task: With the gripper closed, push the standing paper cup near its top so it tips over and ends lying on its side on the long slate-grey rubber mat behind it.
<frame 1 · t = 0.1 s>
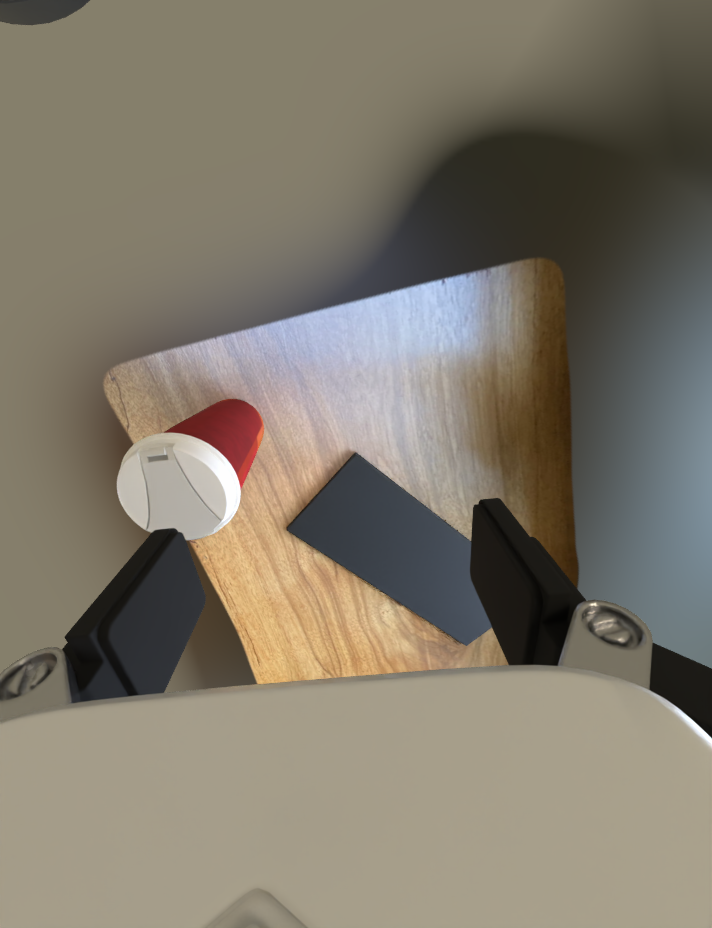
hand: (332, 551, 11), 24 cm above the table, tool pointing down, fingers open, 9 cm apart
mat: (418, 560, 42), on the table
paper cup: (236, 426, 35), on the table
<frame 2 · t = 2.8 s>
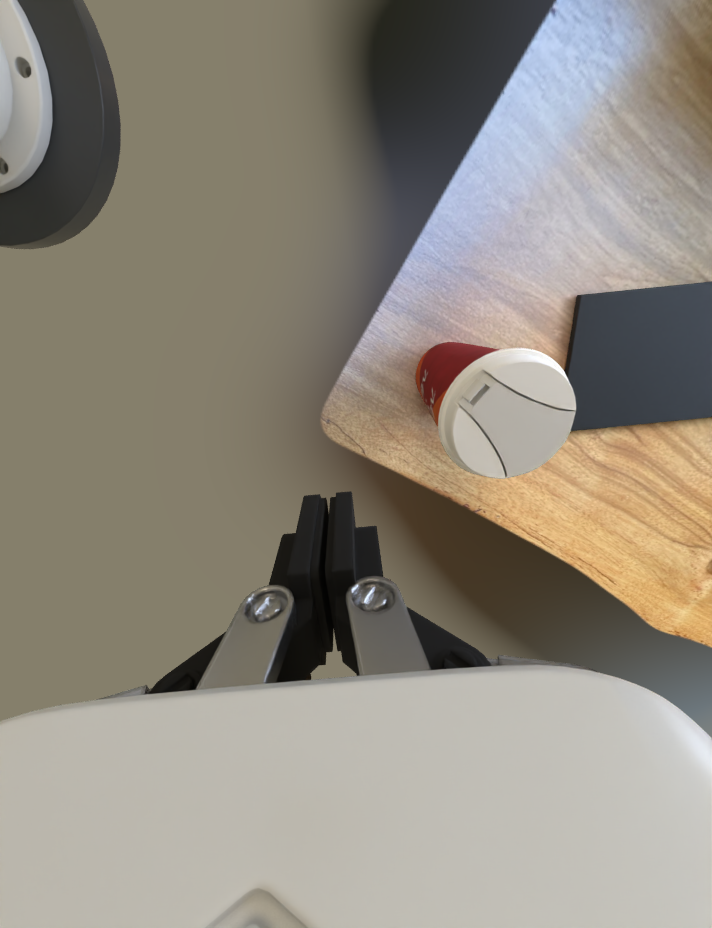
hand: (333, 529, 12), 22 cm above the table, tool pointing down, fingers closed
paper cup: (445, 374, 32), on the table
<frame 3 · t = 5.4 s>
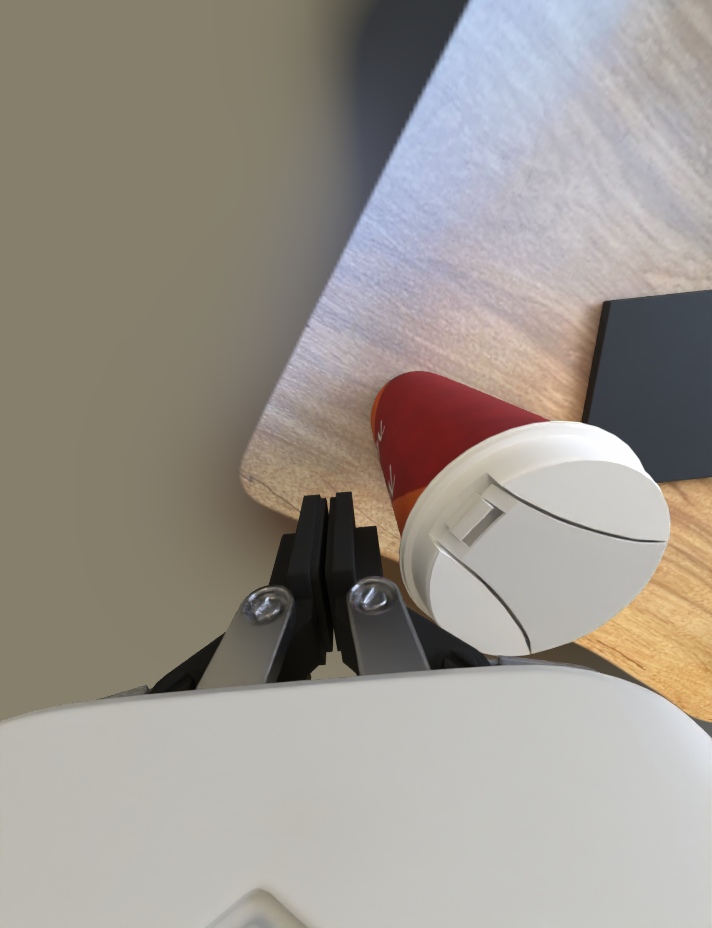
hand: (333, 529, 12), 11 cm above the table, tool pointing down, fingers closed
paper cup: (414, 415, 22), on the table, touching gripper
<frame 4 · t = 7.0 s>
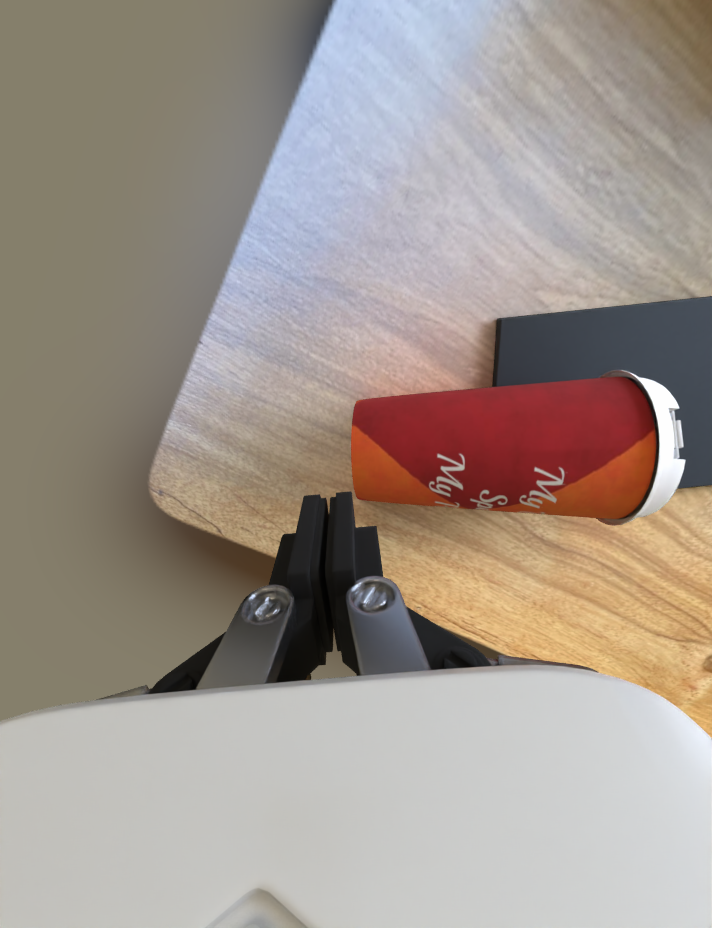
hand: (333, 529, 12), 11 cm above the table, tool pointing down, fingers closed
paper cup: (355, 450, 20), point 3 cm above the table, touching mat
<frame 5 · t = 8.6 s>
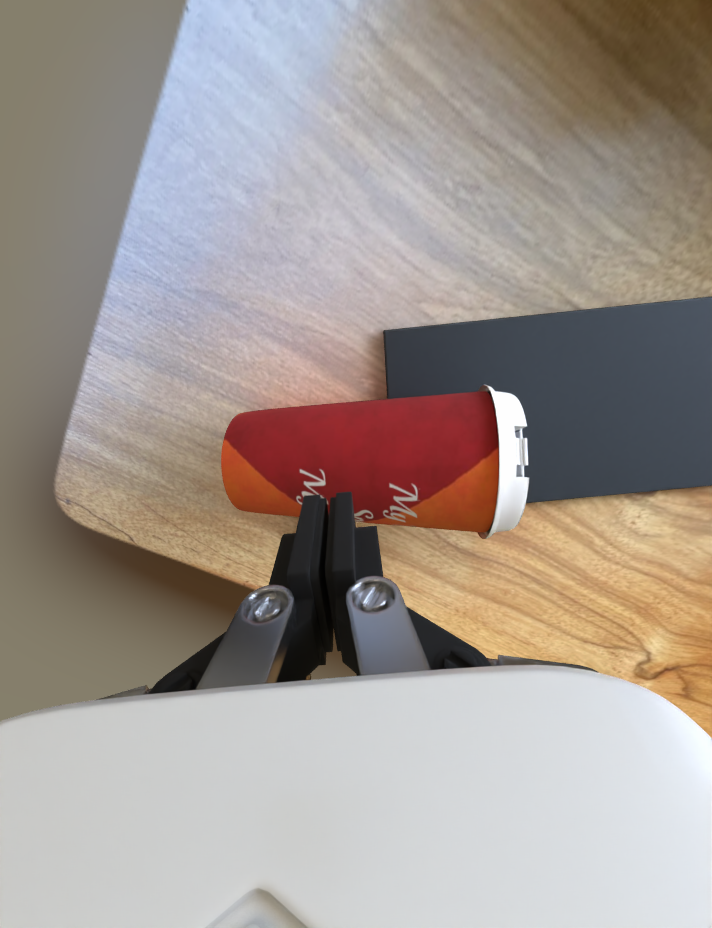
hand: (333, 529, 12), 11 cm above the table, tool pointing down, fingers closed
mat: (627, 407, 22), on the table
paper cup: (244, 461, 20), point 3 cm above the table, touching mat
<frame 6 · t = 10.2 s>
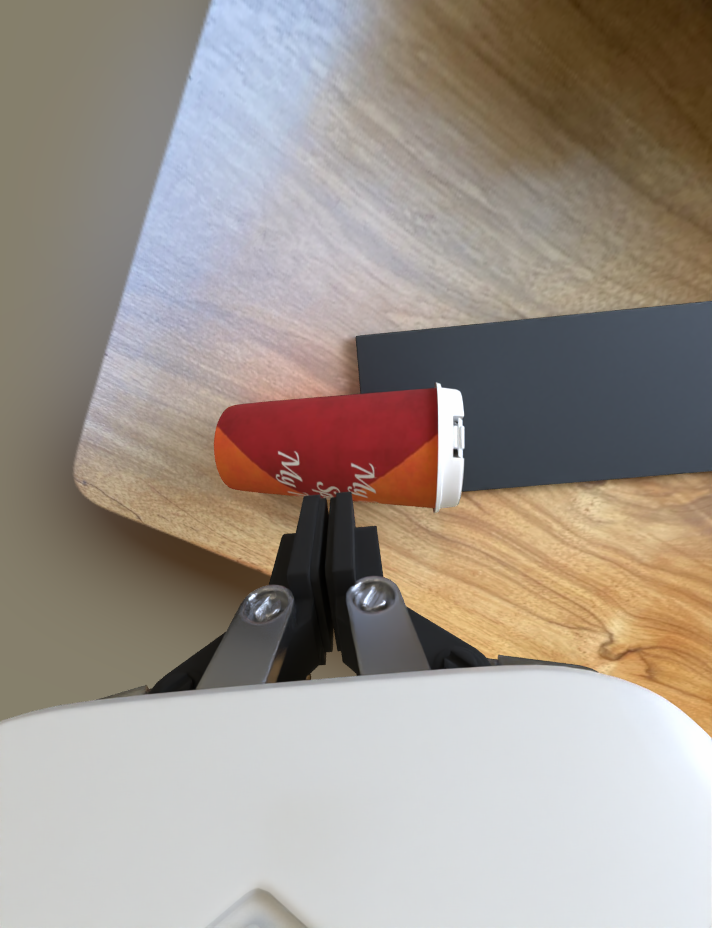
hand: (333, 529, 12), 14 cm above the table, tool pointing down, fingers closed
mat: (574, 404, 25), on the table
paper cup: (235, 447, 23), point 3 cm above the table, touching mat
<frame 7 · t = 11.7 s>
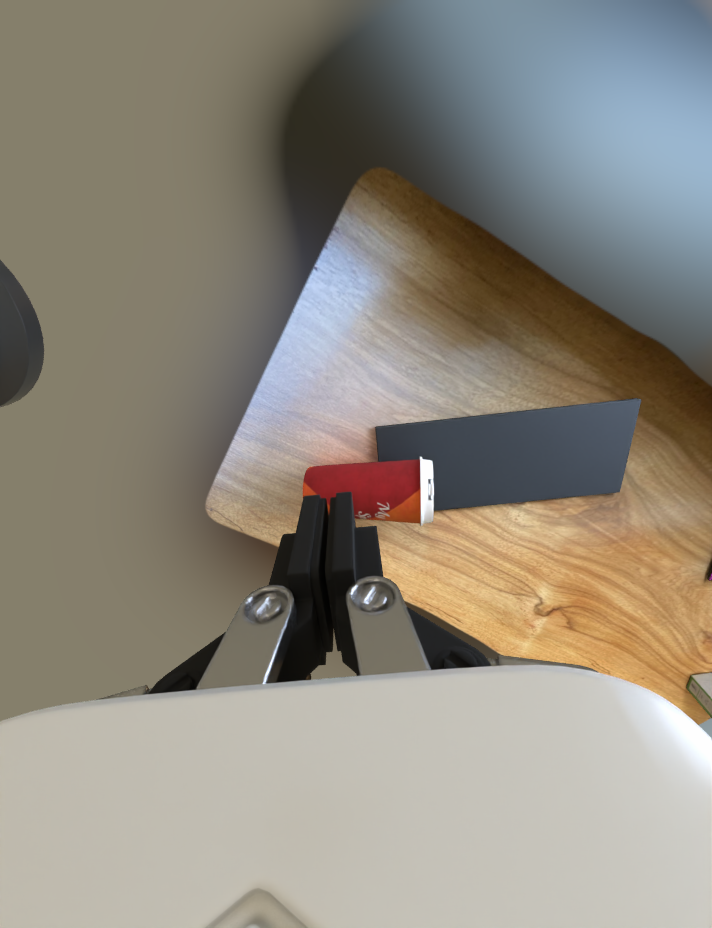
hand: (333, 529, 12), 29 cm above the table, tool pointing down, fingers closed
mat: (501, 459, 43), on the table
ink box: (706, 677, 62), on the table
paper cup: (308, 490, 41), point 3 cm above the table, touching mat
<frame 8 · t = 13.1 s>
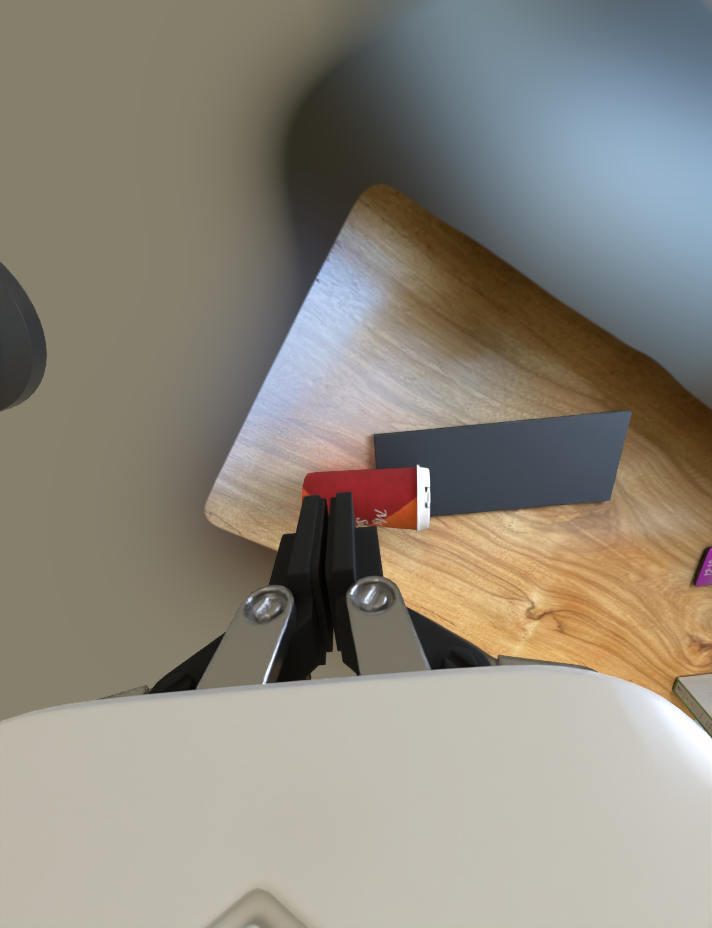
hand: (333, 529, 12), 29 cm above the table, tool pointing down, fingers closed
mat: (496, 467, 44), on the table
ink box: (692, 680, 63), on the table
paper cup: (307, 496, 42), point 3 cm above the table, touching mat
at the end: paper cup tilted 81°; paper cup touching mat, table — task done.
